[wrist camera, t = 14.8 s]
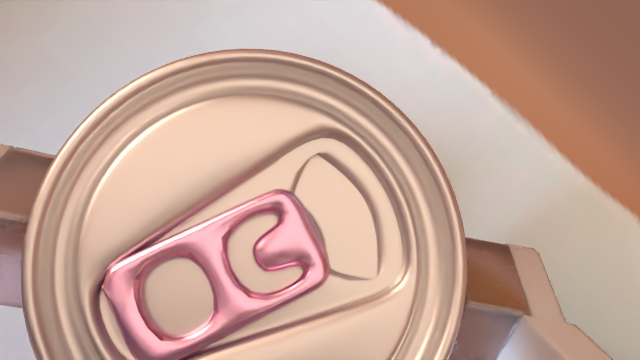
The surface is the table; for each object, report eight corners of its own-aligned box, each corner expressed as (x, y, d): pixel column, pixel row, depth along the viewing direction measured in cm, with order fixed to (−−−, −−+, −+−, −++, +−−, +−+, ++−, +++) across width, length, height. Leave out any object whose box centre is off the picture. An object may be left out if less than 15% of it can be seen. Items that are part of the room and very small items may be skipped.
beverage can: (154, 231, 22) (-77, 144, 7) (294, 166, 23) (357, -32, 8) (219, 376, 21) (122, 622, 6) (361, 302, 22) (565, 367, 7)
